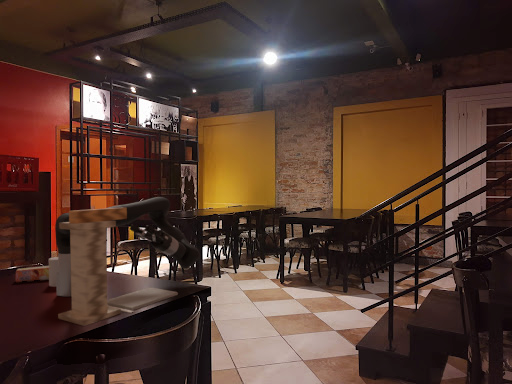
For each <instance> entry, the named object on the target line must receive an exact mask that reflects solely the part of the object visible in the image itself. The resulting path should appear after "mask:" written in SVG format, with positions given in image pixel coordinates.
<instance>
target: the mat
mask: <svg viewBox="0 0 512 384" xmlns="http://www.w3.org/2000/svg"><path fill="white" fill-rule="evenodd" d="M178 294H179V293H178V292H177V291H173V290H167V289H162V288H156V287H152V286H151V287H150V286H149V287H146V288H142V289H139V290H136V291H133V292H129V293H126V294H123V295H120V296H119V295H118V296H116V297H112V298H110V299H107V305H110V306H114V307H118V308H123V309H127V310H131V311H134V310H137V309H141V308H143V307H146V306H150V305H152V304H155V303H159V302H160V301H163V300H166V299H170V298H172V297H175V296H178Z"/></svg>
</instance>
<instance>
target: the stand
mask: <svg viewBox="0 0 512 384" xmlns="http://www.w3.org/2000/svg"><path fill="white" fill-rule="evenodd" d="M108 227H111V228H115V227H116V221H110V220H107V221H97V222H86V223H69V222H63V223H59V229H69V230H70V247H71V294H72V296H71V309H70V310H67V311H63V312H61V313H58V314H57V315H58V317H57V319H59V320H62V321H65V322H69V323H73V324H75V325H79V326H83V327H85V326H88V325H91V324H94V323H97V322H99V321H102V320H105V319H108V318H112V317H113V316H117V315H120V314H121V313H122V311H121V309H119V307H118V308H114V307H110V306H107V300H108V274H107V273H108V271H107V268H108V267H107V263H108V262H107V229H109V228H108ZM116 228H117V227H116Z"/></svg>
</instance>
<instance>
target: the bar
mask: <svg viewBox="0 0 512 384" xmlns="http://www.w3.org/2000/svg"><path fill="white" fill-rule="evenodd" d="M68 213H69V223H86V222H97V221H107V220H118V219H127V208H108V207H106V209H105V208H94V209H92V208H91V209H79V210H76V209H75V210H69V211H68Z"/></svg>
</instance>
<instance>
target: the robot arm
mask: <svg viewBox="0 0 512 384" xmlns="http://www.w3.org/2000/svg"><path fill="white" fill-rule="evenodd" d="M106 208H127V219H118V220H110V221H116V228H117V227H120V226H121V227H122V226H125V225H129V224H130V223H131V225H130V226H129V230H130V231H132V232H133V235H134V236H136V237H138V238H140V239H142V240H147V241H149V242H150V243H151V246H152V247H153V248H154V249H156V250H158V251H159V252H161V253H163V254H165V255H167V256H169V257H171V258H173V260H175V261H176V262H177V264H178V266H179V267H180V268H182V269H185V270H187V269H189V268H191V267H192V266H193V265H194V264H196V262H197V261H199V259H200V258H201V252H200V250H199V249H198V248H197V247H196V246H194V244H192V243H190V242H189V240H188V239H187V238H186V236H185V235H184V233H183V232H182V230H180V228H178V227H176V226H174V225H172V224H171V223H170V222H169V220H168V218H167V216H168V213H169V212H170V208H171V201H170V200H169V199H168V198H166V197H163V196H157V197H152V198H148V199H145V200H141V201H135V202H130V203H126V204H118V205H113V206H109V207H106ZM106 208H104V209H106ZM146 214H147V215H148V217H149V218H150V220H151V221H152V222H153V224H155V225H156V227H157V228H158V229H156V228H153V227H152V226H150V225H149V224H148V225H145V228H144V229H142V228H140V227H138V226H136V225H135V224H132V223H134V221H136V220H138V219H139V218H141V217H142V216H144V215H146ZM63 222H69V212H66V213H62V214H60V215H59V216H58V217H57V218H56V221H55V225H54V231H55V244H56V248H57V257H58V272H56V285H57V287H56V296H58V297H72V294H71V247H70V230H69V229H59V223H63ZM110 228H112V227H108V228H107V229H110Z"/></svg>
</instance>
